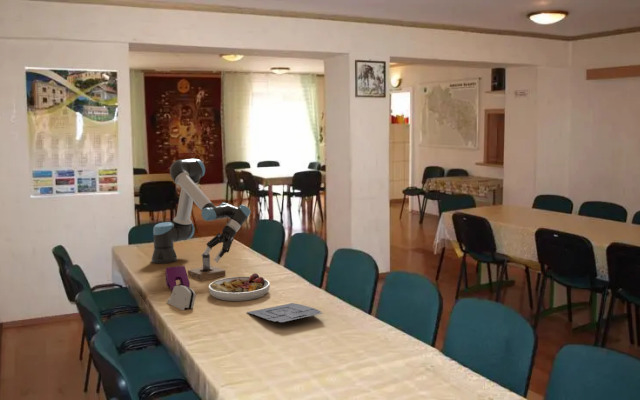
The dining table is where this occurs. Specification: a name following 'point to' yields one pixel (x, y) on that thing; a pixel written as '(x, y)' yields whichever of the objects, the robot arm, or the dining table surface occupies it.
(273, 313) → the grey flat panel
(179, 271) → the mounting bracket
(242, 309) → the dining table surface
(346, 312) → the dining table surface
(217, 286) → the bowl
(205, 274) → the socket block
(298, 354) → the dining table surface
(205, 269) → the grey and black cylinder
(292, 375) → the dining table surface
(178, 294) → the napkin holder
